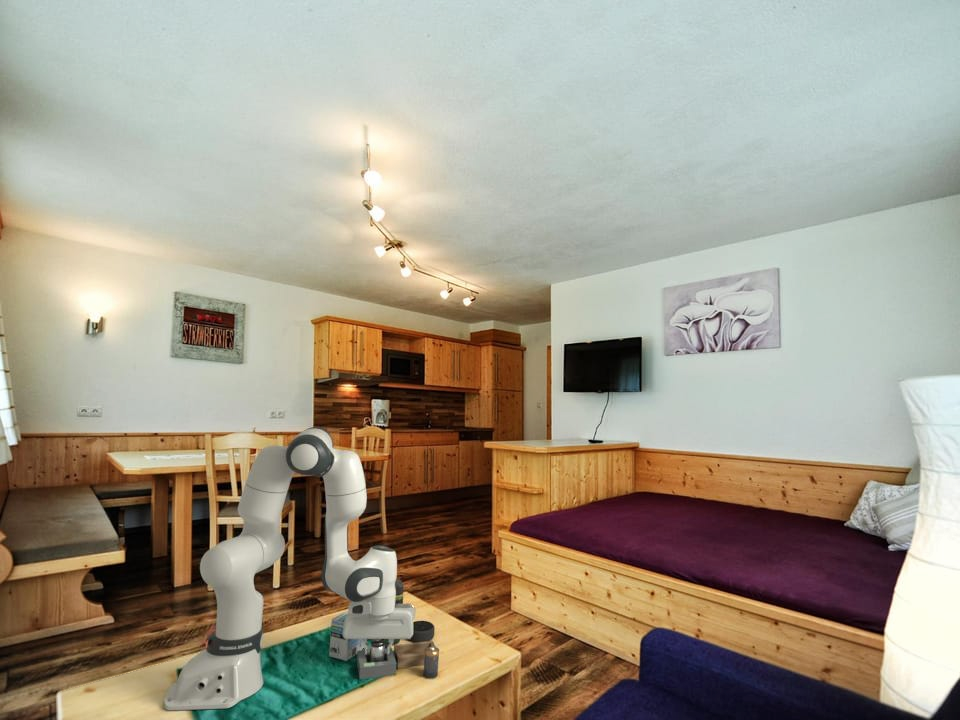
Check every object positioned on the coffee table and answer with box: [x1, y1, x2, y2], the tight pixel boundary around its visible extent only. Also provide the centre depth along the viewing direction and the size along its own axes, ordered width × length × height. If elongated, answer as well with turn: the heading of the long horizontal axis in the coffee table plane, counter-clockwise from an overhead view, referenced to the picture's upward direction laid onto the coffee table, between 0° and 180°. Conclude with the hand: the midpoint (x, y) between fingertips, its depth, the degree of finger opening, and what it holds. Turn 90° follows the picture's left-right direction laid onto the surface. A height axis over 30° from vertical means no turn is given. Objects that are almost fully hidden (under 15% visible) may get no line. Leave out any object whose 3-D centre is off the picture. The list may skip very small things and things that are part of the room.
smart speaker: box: [408, 620, 436, 643], centre depth 159 cm, size 9×9×4 cm
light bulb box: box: [328, 609, 365, 662], centre depth 148 cm, size 11×7×11 cm, turn 158°
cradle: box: [356, 646, 397, 680], centre depth 139 cm, size 10×10×3 cm
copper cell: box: [422, 646, 440, 679], centre depth 137 cm, size 4×4×7 cm
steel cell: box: [370, 639, 386, 663], centre depth 139 cm, size 4×4×7 cm
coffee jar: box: [385, 577, 404, 646], centre depth 158 cm, size 10×8×19 cm
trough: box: [393, 640, 436, 670], centre depth 144 cm, size 12×8×3 cm, turn 108°
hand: (377, 653), depth 139 cm, fingers closed on steel cell, 4 cm apart
